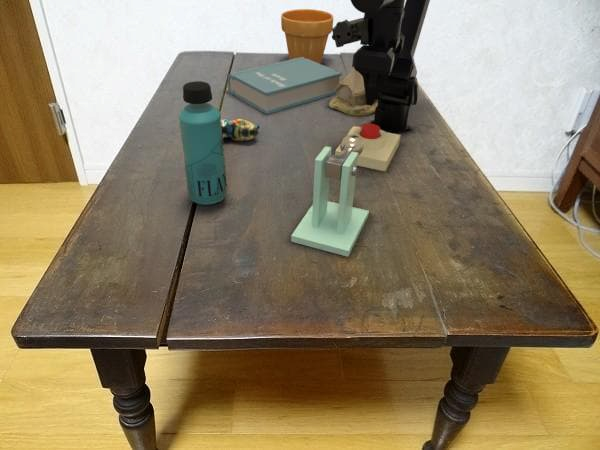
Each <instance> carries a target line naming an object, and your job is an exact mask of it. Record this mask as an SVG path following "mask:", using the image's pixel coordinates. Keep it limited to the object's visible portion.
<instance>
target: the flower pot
mask: <svg viewBox="0 0 600 450" xmlns="http://www.w3.org/2000/svg"><path fill="white" fill-rule="evenodd" d="M280 21H281V22H280V24H281V26H280V27H281V30H282V32H283V33H284V35H285V41H286V48H287V54H288V60H291V59H295V58H300V57H304V58H305V59H309V60H311V61H314V62H316V63H319V64H321V65H322V61H323V58H324V54H325V50H326V47H327V42H328V38H329V35H330V34H331V33H333V31H332V28H334V15H333V14H332V13H330V12H329V11H326V10H325V11H324V10H321V9H320V10H319V9H310V8H301V9H300V8H298V9H289V10H287V11H284V12H282V13H281V15H280Z"/></svg>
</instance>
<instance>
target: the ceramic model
mask: <svg viewBox="0 0 600 450" xmlns="http://www.w3.org/2000/svg"><path fill="white" fill-rule="evenodd" d="M336 91H337V92H336V94H335V95H336V96H335V97H333V98H331V99H330V102H329V103H328V106H329V108H331V109H334V110H337V111H339V112H342V113H344V114H346V115H348V116H356V117H361V116H362V117H363V116H370V115H372V114H375V109H376V107H377V105H378V100H375V102H374V104H373V105H372V106H370V105H367V104H366V97H365V88H364V81H363V76H362V75H361V74H360V73H359V72H358V71H356V70H355V69H354V68H353V69H351V71H350V72H349V73H348V74H347V75H346V76H345V77H344V78H343V79H342V80H340V81H339V84H338V85H337V86H336Z"/></svg>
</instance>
